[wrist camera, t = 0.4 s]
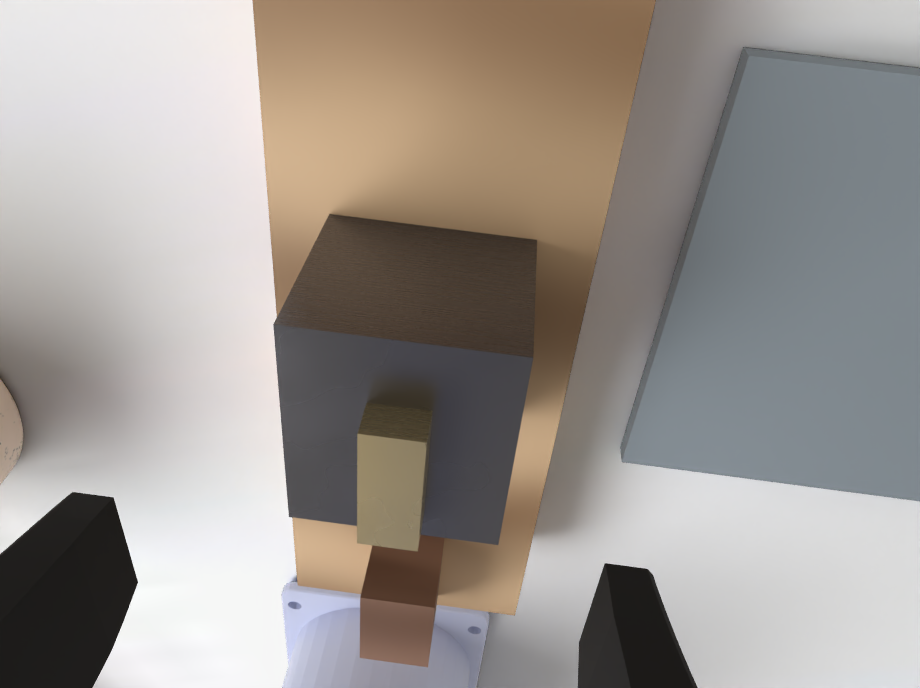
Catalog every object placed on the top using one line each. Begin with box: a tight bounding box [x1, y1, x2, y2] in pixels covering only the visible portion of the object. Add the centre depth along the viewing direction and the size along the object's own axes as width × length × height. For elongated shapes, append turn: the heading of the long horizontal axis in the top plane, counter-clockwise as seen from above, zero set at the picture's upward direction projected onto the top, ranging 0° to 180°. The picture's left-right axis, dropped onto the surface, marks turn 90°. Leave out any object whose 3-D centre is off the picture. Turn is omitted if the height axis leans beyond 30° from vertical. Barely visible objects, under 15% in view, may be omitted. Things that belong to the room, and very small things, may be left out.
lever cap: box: [274, 214, 537, 552], centre depth 15 cm, size 5×4×5 cm
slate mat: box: [620, 47, 920, 501], centre depth 19 cm, size 12×10×1 cm
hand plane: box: [253, 0, 656, 667], centre depth 18 cm, size 22×7×5 cm, turn 175°
